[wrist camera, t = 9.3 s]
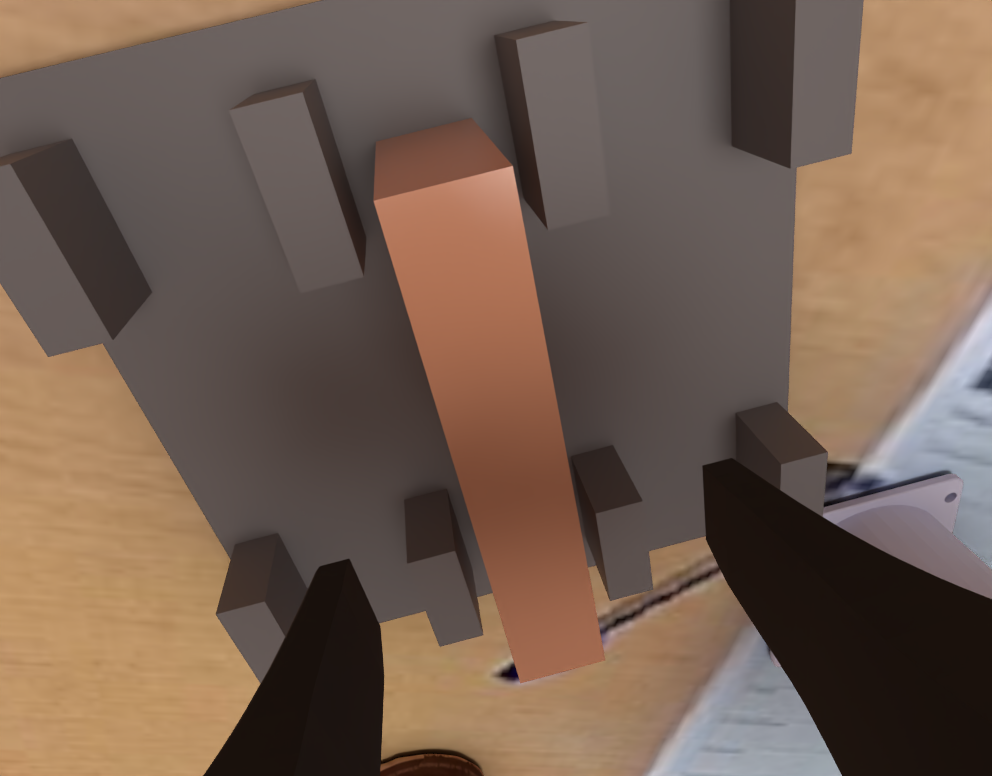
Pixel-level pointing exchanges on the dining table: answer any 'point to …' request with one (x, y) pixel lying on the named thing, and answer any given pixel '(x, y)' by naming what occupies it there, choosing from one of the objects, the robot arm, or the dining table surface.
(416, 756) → the coffee cup
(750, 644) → the dining table surface
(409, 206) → the clay strip
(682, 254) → the comb rack
